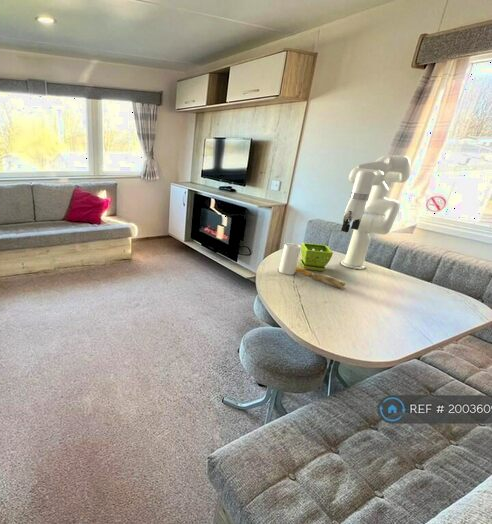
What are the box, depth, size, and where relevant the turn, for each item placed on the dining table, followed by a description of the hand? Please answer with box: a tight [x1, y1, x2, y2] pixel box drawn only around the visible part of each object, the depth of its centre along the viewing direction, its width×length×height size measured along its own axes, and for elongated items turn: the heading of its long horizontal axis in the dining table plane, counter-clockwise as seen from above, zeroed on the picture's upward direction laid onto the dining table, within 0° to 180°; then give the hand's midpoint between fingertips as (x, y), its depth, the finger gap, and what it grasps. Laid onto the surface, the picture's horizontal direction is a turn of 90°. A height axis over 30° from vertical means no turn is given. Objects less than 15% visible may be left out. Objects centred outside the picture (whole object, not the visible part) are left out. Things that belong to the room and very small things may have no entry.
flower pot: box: [299, 242, 333, 272], centre depth 182 cm, size 14×14×13 cm
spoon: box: [312, 272, 347, 290], centre depth 164 cm, size 16×5×4 cm, turn 32°
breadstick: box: [295, 265, 313, 277], centre depth 176 cm, size 10×2×2 cm, turn 32°
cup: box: [278, 242, 302, 276], centre depth 173 cm, size 8×8×16 cm
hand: (349, 230), depth 158 cm, fingers open, 9 cm apart
